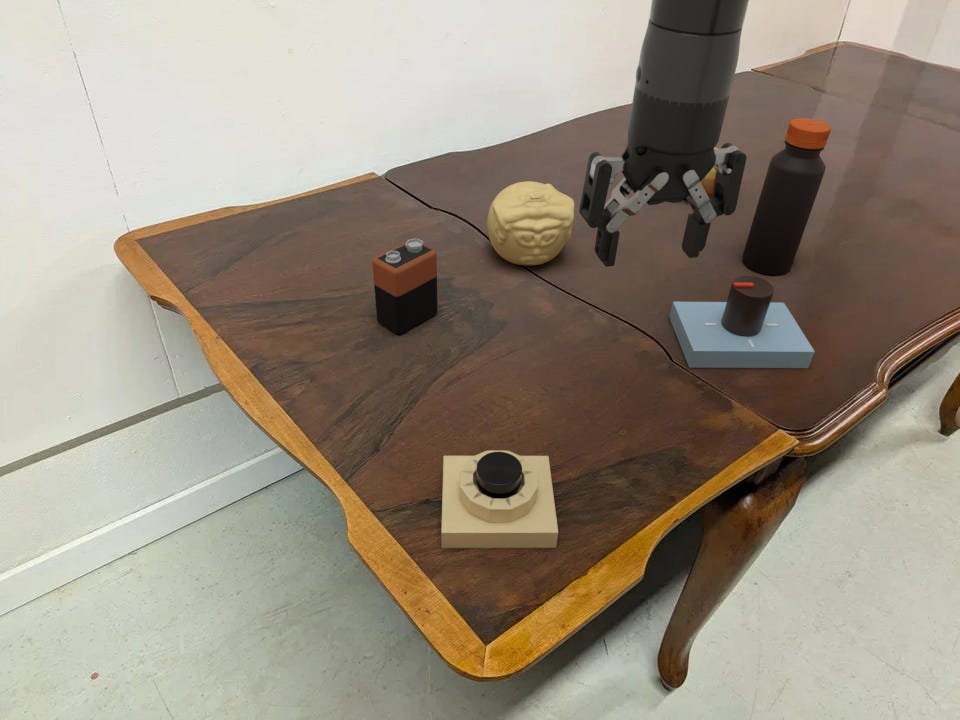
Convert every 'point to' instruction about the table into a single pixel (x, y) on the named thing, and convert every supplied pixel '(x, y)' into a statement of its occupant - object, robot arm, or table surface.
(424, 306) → the battery
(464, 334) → the table surface
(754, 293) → the knob
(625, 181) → the robot arm
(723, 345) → the panel
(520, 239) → the sculpture
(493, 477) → the button
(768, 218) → the bottle
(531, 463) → the button box
